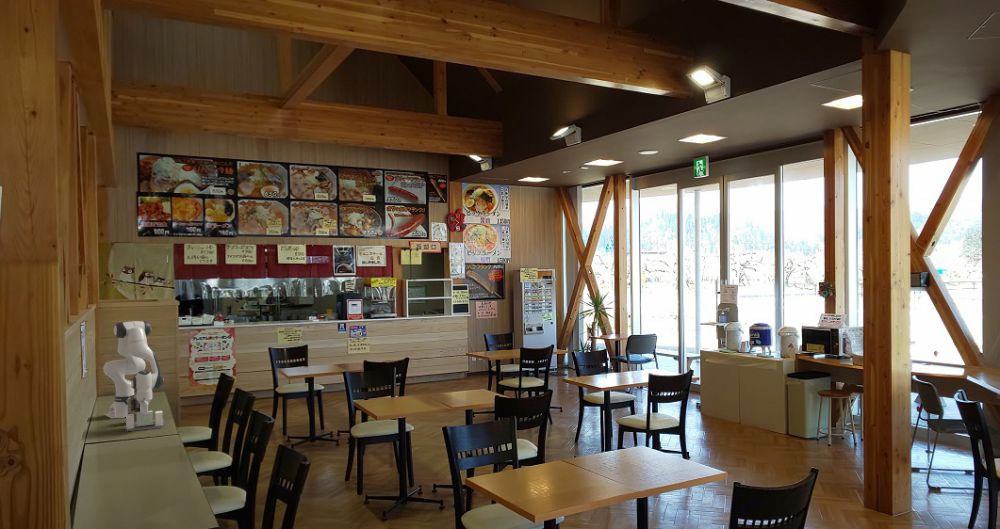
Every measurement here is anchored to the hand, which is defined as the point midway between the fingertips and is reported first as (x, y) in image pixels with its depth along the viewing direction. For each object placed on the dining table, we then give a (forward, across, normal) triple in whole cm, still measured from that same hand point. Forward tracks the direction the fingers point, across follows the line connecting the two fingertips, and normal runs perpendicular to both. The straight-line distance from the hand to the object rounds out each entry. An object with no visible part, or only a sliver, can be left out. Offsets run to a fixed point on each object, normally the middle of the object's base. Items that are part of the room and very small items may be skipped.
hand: (144, 418), depth 422 cm
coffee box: (+6, +22, +5) cm, 23 cm away
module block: (+4, 0, 0) cm, 4 cm away
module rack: (+6, 0, 0) cm, 6 cm away
